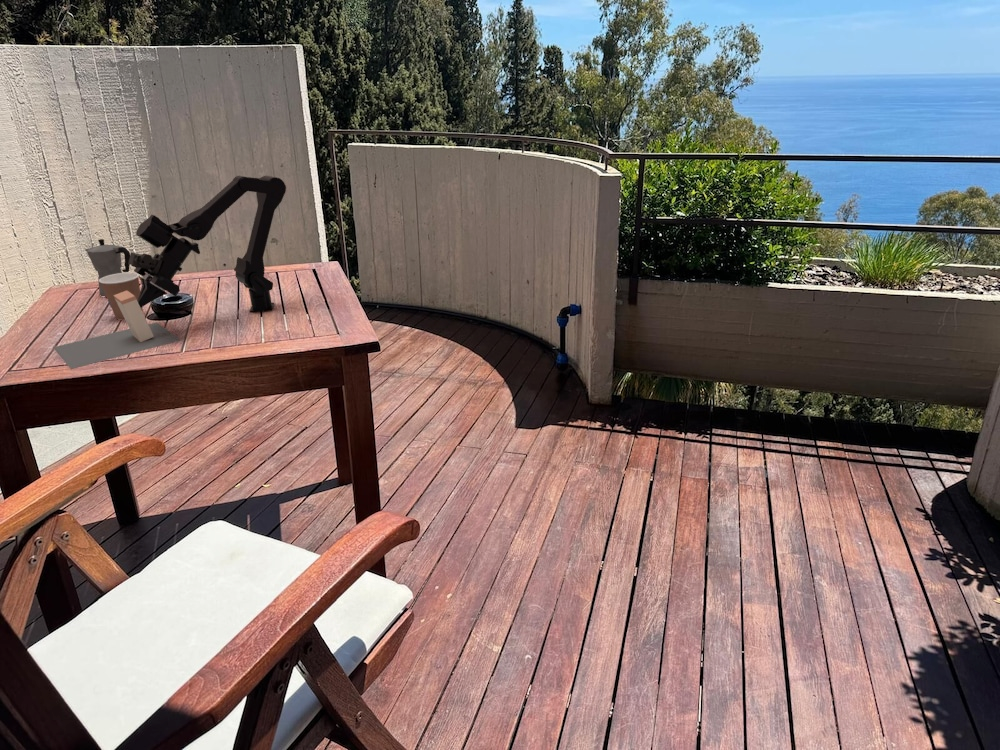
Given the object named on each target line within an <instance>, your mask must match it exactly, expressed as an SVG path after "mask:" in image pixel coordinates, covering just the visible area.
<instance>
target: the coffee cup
mask: <svg viewBox="0 0 1000 750" xmlns="http://www.w3.org/2000/svg"><path fill="white" fill-rule="evenodd" d="M139 276H140V274H138V273H136V272H122V273H118V274H112V275H108V276H105V277H103V278H101V279H99V282H100V283H101V285H102V287H103V289H104V292H105V294H106V297H107V298H106V299H107V302H108V304H109V307H110V308H111V310H112V313H113V315H114V317H115V318H116V320H117V319H118V321H123V320H125V318H124V316H123V314H122V312H121V310H120V308H119V306H118V304H117V302H116V300H115V298H114V296H113V295H116V294H118V293H121V292H124V291H129V292H130V293H131V294H133V295H134V296H135V297H136V299H137V301H138V297H139V294H140V291H141V287H140V286H141V285H140V279H139ZM99 282H98V283H99ZM141 310H142V312H143V310H144V309H143V307H141ZM125 321H126V320H125Z"/></svg>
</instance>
